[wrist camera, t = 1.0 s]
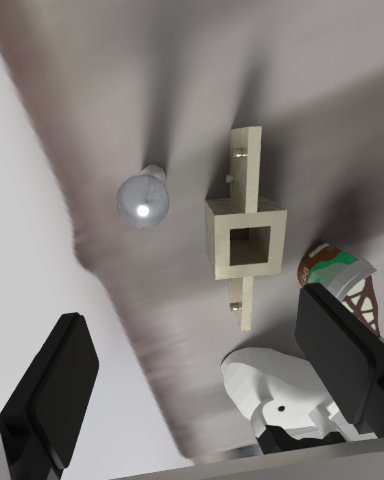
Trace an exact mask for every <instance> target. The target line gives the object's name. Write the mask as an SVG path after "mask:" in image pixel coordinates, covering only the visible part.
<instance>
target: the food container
mask: <svg viewBox="0 0 384 480" xmlns="http://www.w3.org/2000/svg"><path fill="white" fill-rule="evenodd" d="M376 272H378V270H376V269H375V268H373V266H372V265H371V264H370V263H369V262H367V261H366V260H365V259H364V258H362V259H360V260H358V259H356V258H354V257H352V256H350V255H348V254H346V253H345V252H343V251H341V250H339V249H337V248H335V247H333V246H331V245H330V244H328V243H326V242H324V241H323V242H321V243H319V244H317V245H315V246H314V247H313V248H312V249H310V250H309V251H308V252H307V253H306V254H305V256H304V257H303V258H302V260H301V262H300V264H299V267H298V274H297V276H298V280H299V283H300V284H301V286H302V287H304V285H305V284H307V283H315V282H319V283H321V284H322V285H323V286H324V287H325V288H326V289H327V290H328V291H329V292H330V293H332V294H333V295H334V296H335V297H336V298H337V299H338V300H339V301H340V302H341V303H342V304H343V305H344V306H345V307H346V308H347V309H348V310H349V311H350V312H351V313H353V314H354V315H355V316H356V317H357V318H358V319H359V320H360V321H361V322H362V323H363V324H364V325H365V326H366V327H367V328H368V329H369V330H370V331H371V332H372V333H374V334H375V335H376V336H377V337H378V338H379V339H380V340H381V341H382V342H383V343H384V339H383V338H382V337H381V336H380V331H379V328H378V305H377V301H376V298H375V294H374V290H373V284H372V277H371V274H373V273H376Z"/></svg>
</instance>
